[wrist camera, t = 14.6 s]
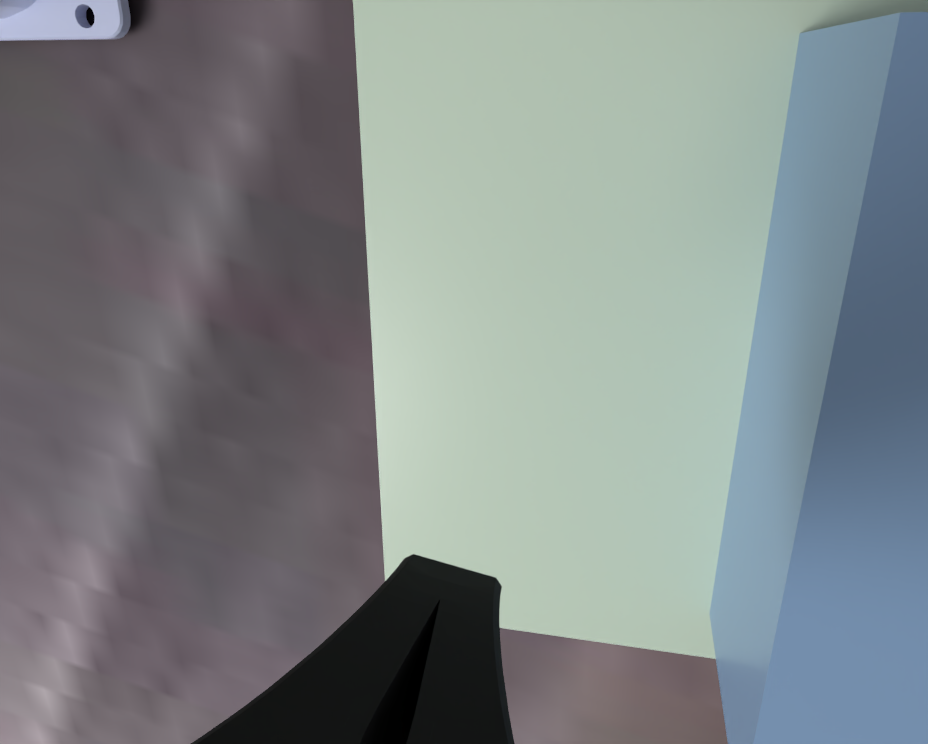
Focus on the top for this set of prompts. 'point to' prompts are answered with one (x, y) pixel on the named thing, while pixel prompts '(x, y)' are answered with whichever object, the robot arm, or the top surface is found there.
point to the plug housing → (836, 413)
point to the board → (571, 288)
